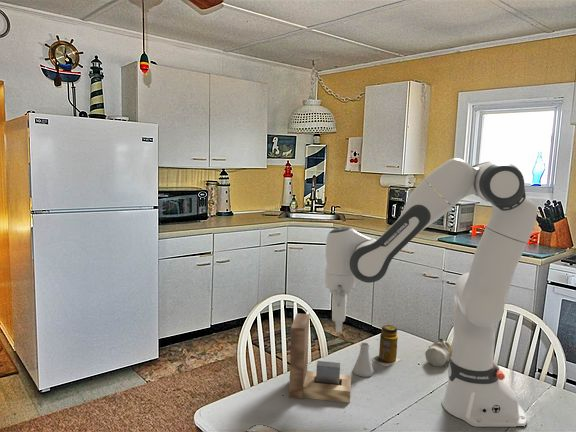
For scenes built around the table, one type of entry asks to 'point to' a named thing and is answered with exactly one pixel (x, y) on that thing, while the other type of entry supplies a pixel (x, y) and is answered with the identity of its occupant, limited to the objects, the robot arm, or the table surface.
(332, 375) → the brushed steel bar
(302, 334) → the tan slotted wooden fixture
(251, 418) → the table surface
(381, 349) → the condiment
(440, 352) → the ceramic sculpture
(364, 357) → the flask
